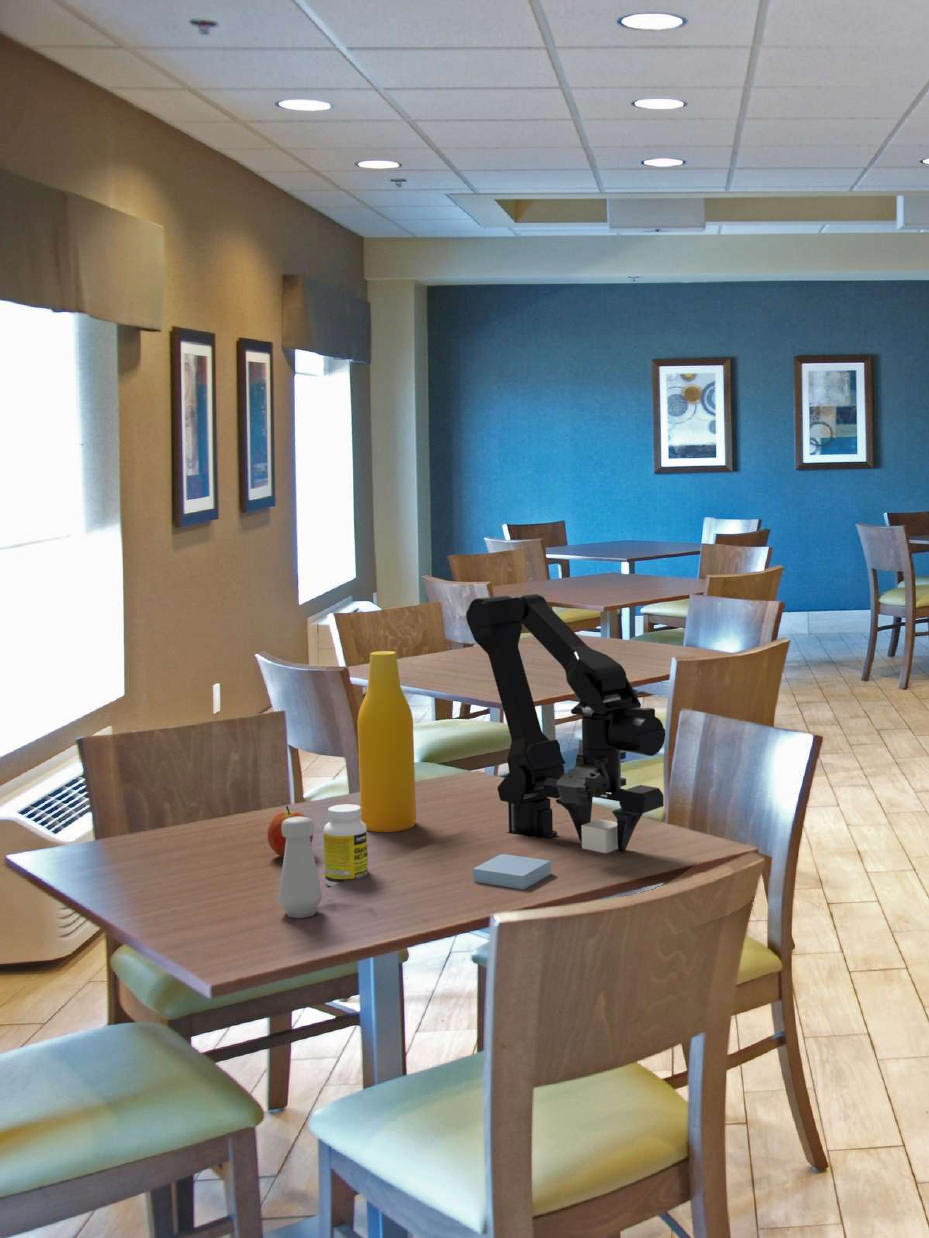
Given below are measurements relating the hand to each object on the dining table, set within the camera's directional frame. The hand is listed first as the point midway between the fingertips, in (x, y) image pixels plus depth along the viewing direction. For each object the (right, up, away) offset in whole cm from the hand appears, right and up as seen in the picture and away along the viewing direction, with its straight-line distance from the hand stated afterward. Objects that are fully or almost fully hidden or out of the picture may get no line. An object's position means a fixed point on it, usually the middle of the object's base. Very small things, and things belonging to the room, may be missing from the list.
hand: (602, 848), depth 207 cm
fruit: (-48, -2, +4) cm, 48 cm away
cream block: (0, -1, 0) cm, 1 cm away
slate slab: (-14, -2, -14) cm, 20 cm away
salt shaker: (-43, -5, -23) cm, 49 cm away
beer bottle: (-33, 0, +21) cm, 40 cm away
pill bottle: (-38, -4, -10) cm, 39 cm away
